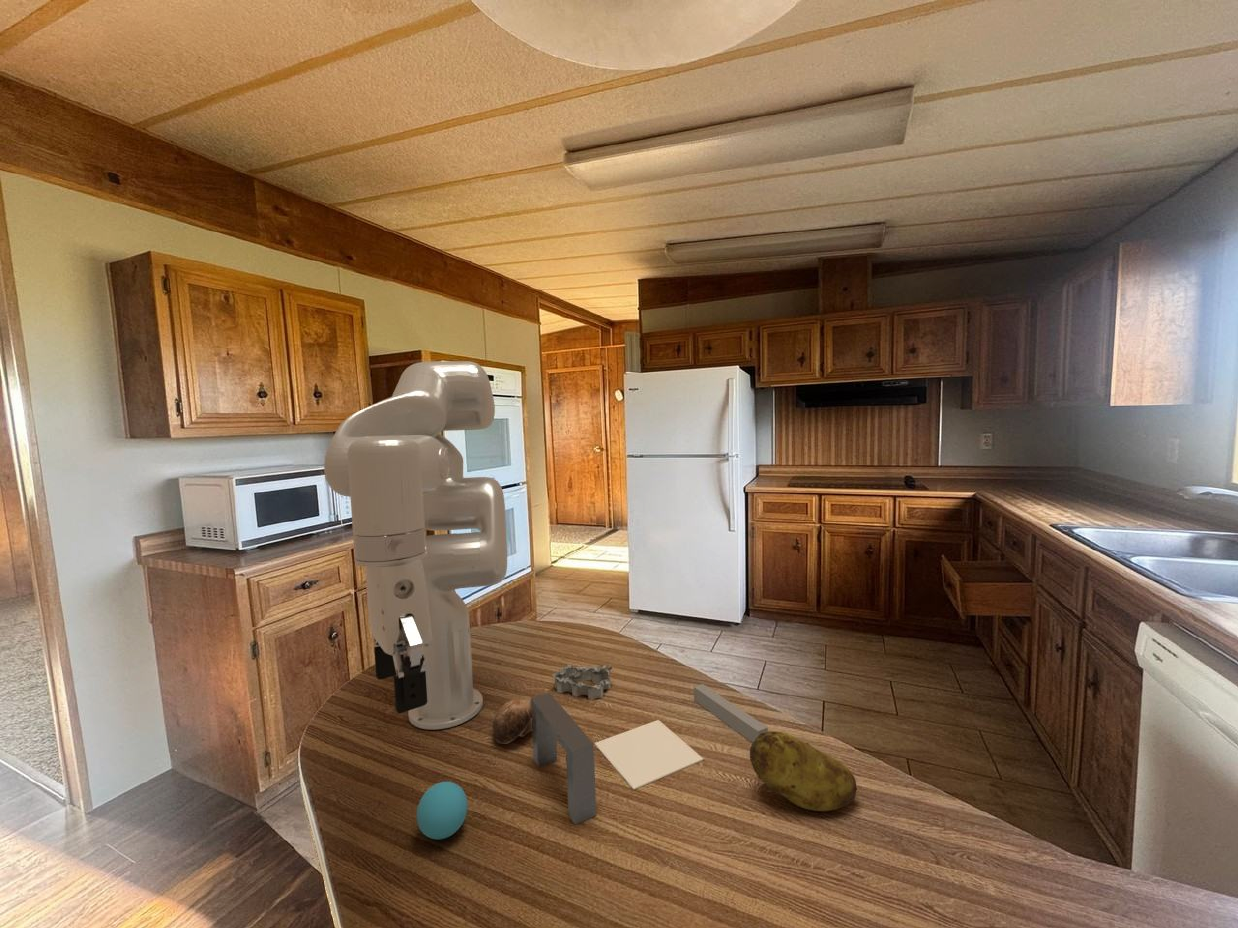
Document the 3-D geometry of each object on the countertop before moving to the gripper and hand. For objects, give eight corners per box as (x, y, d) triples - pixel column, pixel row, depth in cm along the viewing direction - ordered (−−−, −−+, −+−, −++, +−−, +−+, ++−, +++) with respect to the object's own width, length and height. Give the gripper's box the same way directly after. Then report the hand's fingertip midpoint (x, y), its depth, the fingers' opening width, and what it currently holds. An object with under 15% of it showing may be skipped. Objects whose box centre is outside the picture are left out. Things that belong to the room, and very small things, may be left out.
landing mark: (594, 744, 82) (594, 743, 82) (658, 720, 88) (658, 719, 88) (633, 789, 72) (633, 788, 72) (703, 759, 78) (703, 758, 78)
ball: (414, 826, 67) (411, 781, 66) (462, 807, 69) (460, 764, 69) (422, 859, 61) (419, 811, 61) (474, 838, 64) (471, 792, 64)
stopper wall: (694, 700, 94) (693, 686, 94) (703, 696, 95) (702, 683, 95) (758, 746, 80) (758, 731, 80) (767, 742, 81) (767, 727, 81)
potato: (849, 839, 62) (849, 775, 62) (743, 801, 69) (742, 743, 68) (859, 795, 69) (859, 738, 69) (762, 764, 76) (761, 712, 75)
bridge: (574, 824, 66) (571, 751, 65) (533, 759, 79) (530, 697, 78) (596, 815, 67) (593, 743, 67) (552, 753, 80) (549, 692, 80)
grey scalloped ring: (615, 686, 101) (615, 666, 100) (596, 704, 94) (596, 683, 94) (570, 675, 106) (569, 656, 105) (549, 692, 99) (548, 672, 99)
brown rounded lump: (554, 708, 87) (530, 683, 86) (534, 752, 80) (507, 725, 79) (524, 718, 91) (500, 694, 90) (502, 761, 84) (476, 736, 83)
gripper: (448, 553, 55) (457, 710, 56) (405, 530, 69) (413, 657, 70) (370, 566, 51) (382, 736, 52) (342, 539, 65) (351, 674, 66)
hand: (400, 690), depth 61 cm, fingers open, 9 cm apart
